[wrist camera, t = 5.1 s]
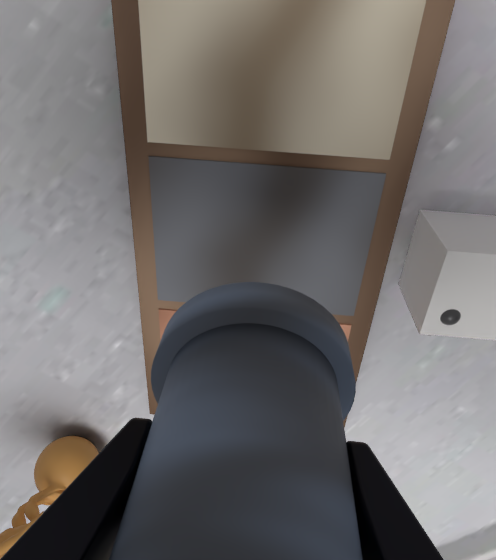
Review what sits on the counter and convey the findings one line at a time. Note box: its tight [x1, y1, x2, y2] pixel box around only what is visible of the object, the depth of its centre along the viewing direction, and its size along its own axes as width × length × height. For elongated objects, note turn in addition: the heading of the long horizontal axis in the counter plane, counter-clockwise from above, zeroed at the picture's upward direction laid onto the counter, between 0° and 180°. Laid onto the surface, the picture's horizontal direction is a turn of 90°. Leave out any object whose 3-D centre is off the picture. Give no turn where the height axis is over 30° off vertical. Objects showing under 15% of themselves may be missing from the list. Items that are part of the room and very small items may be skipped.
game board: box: [111, 0, 455, 427], centre depth 21 cm, size 12×25×1 cm, turn 177°
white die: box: [399, 210, 496, 341], centre depth 19 cm, size 4×4×4 cm
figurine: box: [0, 436, 99, 559], centre depth 25 cm, size 8×6×12 cm
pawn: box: [109, 282, 363, 560], centre depth 7 cm, size 5×5×9 cm
